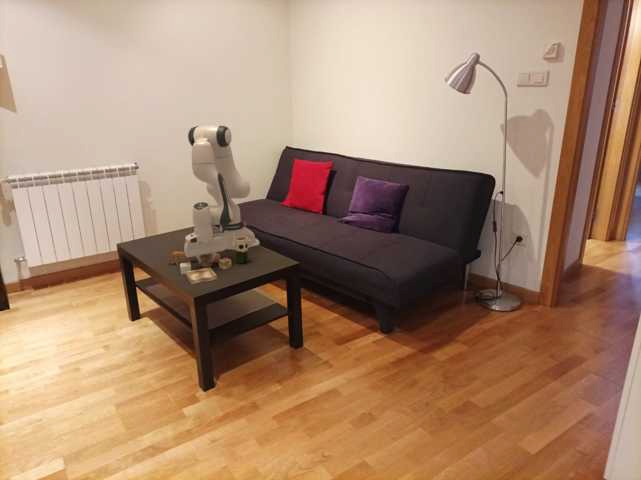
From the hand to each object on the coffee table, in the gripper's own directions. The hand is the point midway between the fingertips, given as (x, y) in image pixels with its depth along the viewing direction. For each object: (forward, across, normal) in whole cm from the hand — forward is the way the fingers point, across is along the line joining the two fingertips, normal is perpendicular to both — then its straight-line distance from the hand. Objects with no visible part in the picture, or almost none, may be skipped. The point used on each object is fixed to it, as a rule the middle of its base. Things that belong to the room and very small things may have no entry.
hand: (206, 261), depth 244 cm
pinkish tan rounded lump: (+3, -6, -6) cm, 9 cm away
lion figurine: (+3, +9, -12) cm, 15 cm away
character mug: (+3, -18, +2) cm, 19 cm away
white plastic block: (+3, +11, +1) cm, 11 cm away
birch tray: (+3, +6, +12) cm, 14 cm away
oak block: (+3, -8, +4) cm, 10 cm away
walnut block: (+2, 0, 0) cm, 2 cm away
